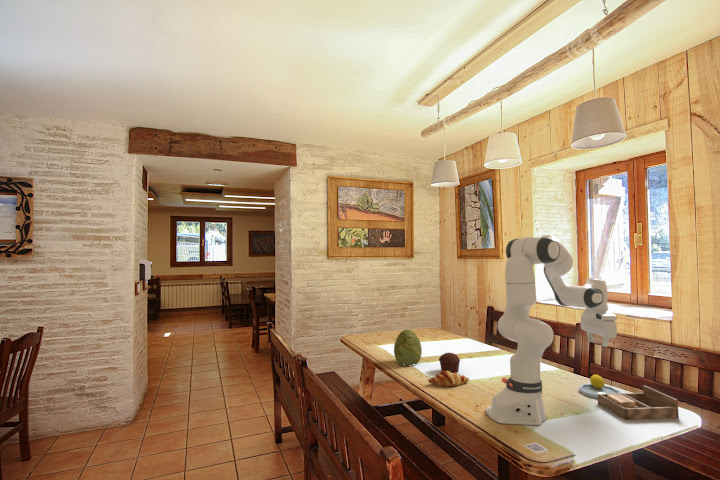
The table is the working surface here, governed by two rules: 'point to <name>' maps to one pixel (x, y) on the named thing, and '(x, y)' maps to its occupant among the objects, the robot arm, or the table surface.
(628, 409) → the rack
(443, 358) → the muffin
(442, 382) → the croissant
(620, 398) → the block
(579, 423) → the table surface
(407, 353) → the decorative sculpture
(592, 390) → the plate
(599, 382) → the lemon
